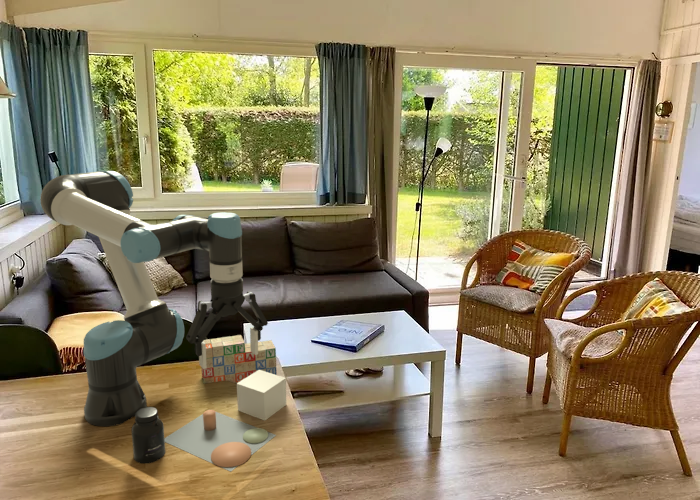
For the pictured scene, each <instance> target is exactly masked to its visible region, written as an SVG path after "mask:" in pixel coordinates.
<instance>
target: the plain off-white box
mask: <svg viewBox="0 0 700 500" xmlns="http://www.w3.org/2000/svg"><path fill="white" fill-rule="evenodd" d="M236 397H237V411H239V412H241V413H244V414H245V415H246V414H247V415H249V416H251V417H254V418H256V419H260V420H262V421H267V420H268V419H269V418H270V417H272V416H273V415H275V414H276V413H277V412H279V411H280V410H281V409H283V408H284V407H285V406H287V378H286V377H284V376H281V375H277V374H276V375H275V374H272V373H268V372H265V371H262V370H258V371H256V372H255V373H253V374H251V375H250V376H248V377H246V378H245V379H243V380H242V381H240V382H236Z"/></svg>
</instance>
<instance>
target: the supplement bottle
mask: <svg viewBox="0 0 700 500" xmlns="http://www.w3.org/2000/svg"><path fill="white" fill-rule="evenodd" d="M134 418H135V419H134V421H135V422H134V423H133V425H132V426H131V439H132V451H133V460H134V461H135V462H136V463H139V464H142V465H143V464H144V465H147V464H152V463H155V462H158V461H159V460H161V459H162V458H163V457H164V456H165V454H166V442H165V440H164V438H165V427H164V422H163V420H162V419H160V418H159V413H158V409H157V407H154V406H147V407H145V408H141V409H139V410H138V411H137V412H136V413H135V417H134Z"/></svg>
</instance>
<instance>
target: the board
mask: <svg viewBox="0 0 700 500" xmlns="http://www.w3.org/2000/svg"><path fill="white" fill-rule="evenodd" d="M276 436H277V434H276V433H275V434H274V433H272V432H269V431H267V429H264V428H261V427H257V426H254V425H251V424H249V423H246V422H243V421H241V420H238V419H236V418H233V417H230V416H228V415H226V414H223V413H220V412H218V411H215V410H214V409H207V410H205V411H204V412H203V413H202V414H201V415H199V416H197V417H196V418H194V419H192V420H191V421H189V422H188V423H186V424H184V425H183V426H182V427H180V428H178V429H177V430H175V431H173V432H172V433H171V434H169V435H167V436H166V437H164V440H165V444H166V443H167V444H168V445H170V446H173V447H176V448H177V449H179V450H182V451H184V452H186V453H187V454H188V453H189V454H190V455H193V456H195V457H198V458H199V459H201V460H204V461H206V462H208V463H210V464H213V465H214V466H217V467H219V468H222V469H224V470H225V471H229V472H230V473H231V472H233V471H234V470H235V469H236V468H237V467H239V466H240V465H243V464H244V463H246V462H247V461H248V460H249V459H250V458H251V456H252V455H254V454H255V453H256V452H257V451H259V450H260V449H261V448H263V446H265V445H266V444H267V443H269V442H270V441H271V440H273V439H274V438H275V437H276Z"/></svg>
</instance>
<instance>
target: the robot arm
mask: <svg viewBox="0 0 700 500" xmlns="http://www.w3.org/2000/svg"><path fill="white" fill-rule="evenodd" d="M133 197H134V191H133V189H132V187H131V185H130V183H129V180H128V179H127V178H126V177H125V176H124V175H122V174H121V173H119V172H118V171H114V170H98V171H92V172H91V171H90V172H79V173H73V174H62V175H58V176H56V177H54V178H52V179H50V180H49V181H48V182H47V183H46V185H44V187H43V188H42V191H41V194H40V200H39V201H40V206H41V208H42V211H43V212H44V213H45V215H46V216H47V217H48V218H49V219H51V220H52V221H54V222H57V223H58V224H60V225H64V226H74V227H77V228H79V229H82V230H83V231H85V232H88V233H90V234H92V235H93V236H97V237H98V239H99V241H100V243H101V246H102V249H103V251H104V252H103V253H104V254H105V257H106V259H107V262H108V265H109V267H110V270H111V272H112V273H111V274H112V276H113V278H114V280H115V282H116V285H117V287H118V288H117V289H118V290H119V293H120V296H121V297H122V301H123V303H124V305H125V308H126V312H125V315H124V316H123V319H124V320H123V319H117V320H116V319H115V320H112V321H105V322H103V323H100V324H98V325H96V326H94V327H92V328H91V329H90V330H88V331H87V333H86V334H85V336H84V337H83V357H84V360H85V361H84V362H85V368H86V376H87V377H86V378H87V384H88V391H87V394H86V400H85V404H84V407H83V412H84V418H85V421H86V422H87V423H88V424H90V425H93V426H97V427H113V426H118V425H122V424H124V423H126V422H128V421H130V420H131V419H133V418H135V413H136V412H137V411H138V410H139V409H141V408H145V407H148V406H147V404H148V403H147V398H146V397H147V396H146V395H145V392H144V390H143V388H142V386H141V385H140V382H139V380H138V377H137V367H139V366H141V365H142V366H143V365H144V364H146V363H148V362H150V361H153V360H156V359H157V358H160V357H162V356H165V355H168V354H170V352H173V351H174V350H177V349H178V348H179V347H180V346H181V345H182V343H183V339H184V337H185V325H184V321H183V319H182V316H181V314H180V313H178V311H177V310H176V309H174V308H169V307H168V306H167V302H166V301H163V300H161V299H160V298H158V295H157V292H156V290H155V287H154V285H153V282H152V280H151V277H150V274H149V272H148V269H147V266H146V264H145V263H148V262H151V261H154V260H158V259H161V258H164V257H168V256H171V255H175V254H179V253H182V252H186V251H190V250H194V249H195V250H196V249H197V250H202V251H205V252H208V253H209V277H210V278H211V280H210V301H202V300H199V301H198V302H197V311H196V312H195V315H194V317H193V320H192V323H191V325H190V327H189V330H188V331H187V334H186V337H185V339H186V340H187V341H188V343H189V344H194V352H195V353H194V354H196V355H197V357H198V360H199V361H198V363H199V366H200V367H202V368H203V369H206V368H207V364H206V343H205V342H203V341H204V340H206V337H208V335H209V333H210V332H211V330H212V329H213V327H215V325H216V323H217V322H218V321H220V320H221V318H222V317H223V318H226V317H229V316H235V315H236V314H237V313H239V314H240V315H241V316H242V317H243V319H245V320H246V321H247V322H249V324H250V325H252V326H251V327H249V332H250V333H249V335H250V336H249V339H250V340H249V341H250V342H249V343H250V345H251V352H252V353H254V354H255V355H258V342H260V341H261V339H262V337H261V335H262V333H261V332H262V330H263V329H264V328H263V327H264V326H265V327H266V326H268V324H269V322H268V320H267V318H266V317H265V315H264V313H263V312H262V310H261V308H260V306H259V304H258V302H257V298H256V297H257V296H256V294H255V293H254V292H252V291H250V290H247V292H246V293H244V280H243V278H242V277H243V275H244V273H243V246H242V245H243V242H242V241H243V237H242V236H243V229H242V220H241V217H240V216H239V214H237V213H234V212H224V211H223V212H214V213H211V214H209V215H208V218H205V217H201V216H197V215H194V214H179V215H177V216H176V217H174V218H173V219H172V220H170V221H165V222H160V223H156V224H152V223H149V222H146V221H144V220H141V219H139V218H137V217H134V216H132V215H131V213H132V212H131V209H130V208H131V207H132V206H133V202H134V199H133ZM243 293H244V294H243ZM245 301H246V302H247V303H248V304H249V306H250V308H251V310H252V311H253V313H254V315H255V316H256V318H257V320H258V321H257V320H255V319H254V318H253V316H251V315H250V314H249V313H248V312H247V311H246V309H244V308H243V307H242V306H243V304H244V302H245ZM210 308H211V310H210V311H209V309H210ZM208 311H209V314H208V317H207V318H206V316H207V312H208ZM205 318H206V319H205ZM204 320H205V321H204ZM202 368H201V369H202Z"/></svg>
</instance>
